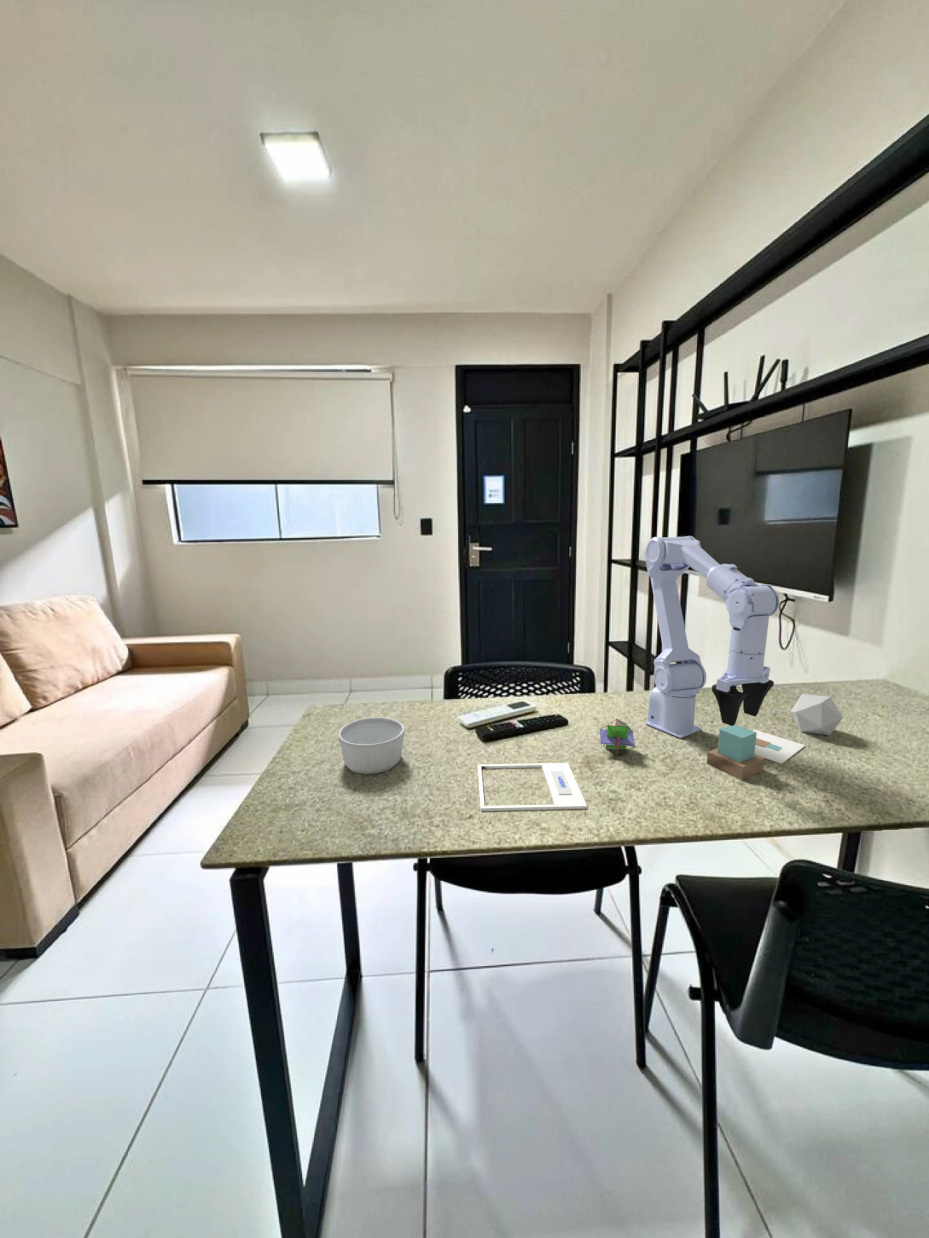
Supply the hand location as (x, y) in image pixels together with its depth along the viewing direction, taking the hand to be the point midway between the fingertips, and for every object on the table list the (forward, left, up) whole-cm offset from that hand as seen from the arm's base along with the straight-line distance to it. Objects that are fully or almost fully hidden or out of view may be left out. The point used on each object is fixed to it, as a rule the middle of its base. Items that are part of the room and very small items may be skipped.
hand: (739, 719), depth 92 cm
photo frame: (-17, -38, -11) cm, 43 cm away
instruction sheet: (-1, +14, -10) cm, 17 cm away
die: (+1, +30, -10) cm, 32 cm away
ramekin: (-42, -58, -10) cm, 72 cm away
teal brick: (0, 0, -7) cm, 7 cm away
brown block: (0, 0, -10) cm, 10 cm away
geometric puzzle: (-17, -14, -10) cm, 24 cm away
